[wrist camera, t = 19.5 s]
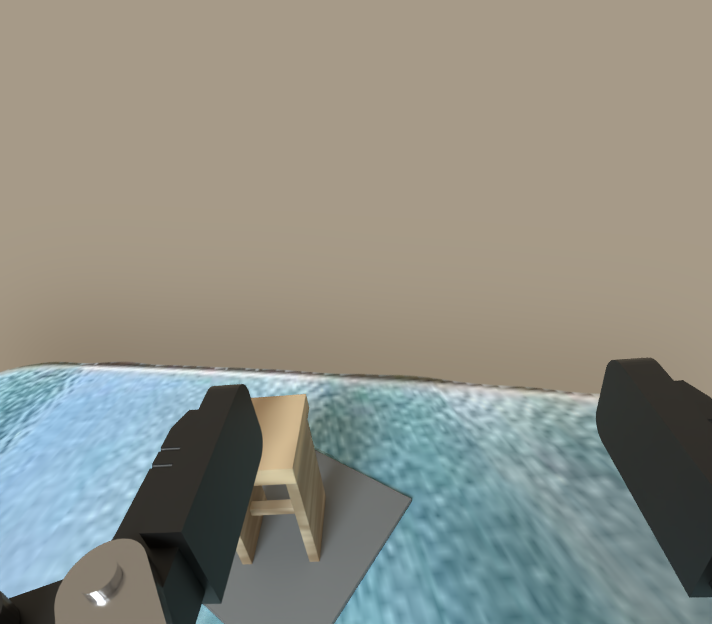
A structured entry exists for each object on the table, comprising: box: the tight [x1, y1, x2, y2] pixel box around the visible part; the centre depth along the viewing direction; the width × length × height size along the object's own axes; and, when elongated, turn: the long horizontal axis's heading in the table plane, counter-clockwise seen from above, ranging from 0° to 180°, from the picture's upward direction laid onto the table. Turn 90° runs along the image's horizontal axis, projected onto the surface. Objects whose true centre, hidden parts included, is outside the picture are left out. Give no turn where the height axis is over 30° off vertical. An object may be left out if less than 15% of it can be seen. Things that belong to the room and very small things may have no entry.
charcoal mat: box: [203, 450, 412, 624], centre depth 39 cm, size 16×16×1 cm
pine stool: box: [236, 394, 326, 565], centre depth 35 cm, size 7×7×12 cm
